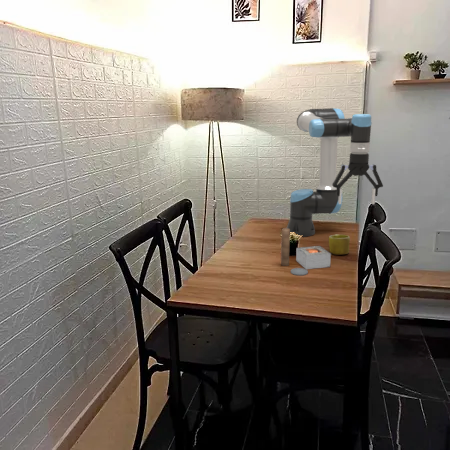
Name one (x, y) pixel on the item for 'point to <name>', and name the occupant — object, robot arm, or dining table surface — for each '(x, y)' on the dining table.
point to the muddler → (285, 246)
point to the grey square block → (313, 257)
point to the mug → (339, 244)
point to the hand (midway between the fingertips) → (356, 203)
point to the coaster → (299, 271)
